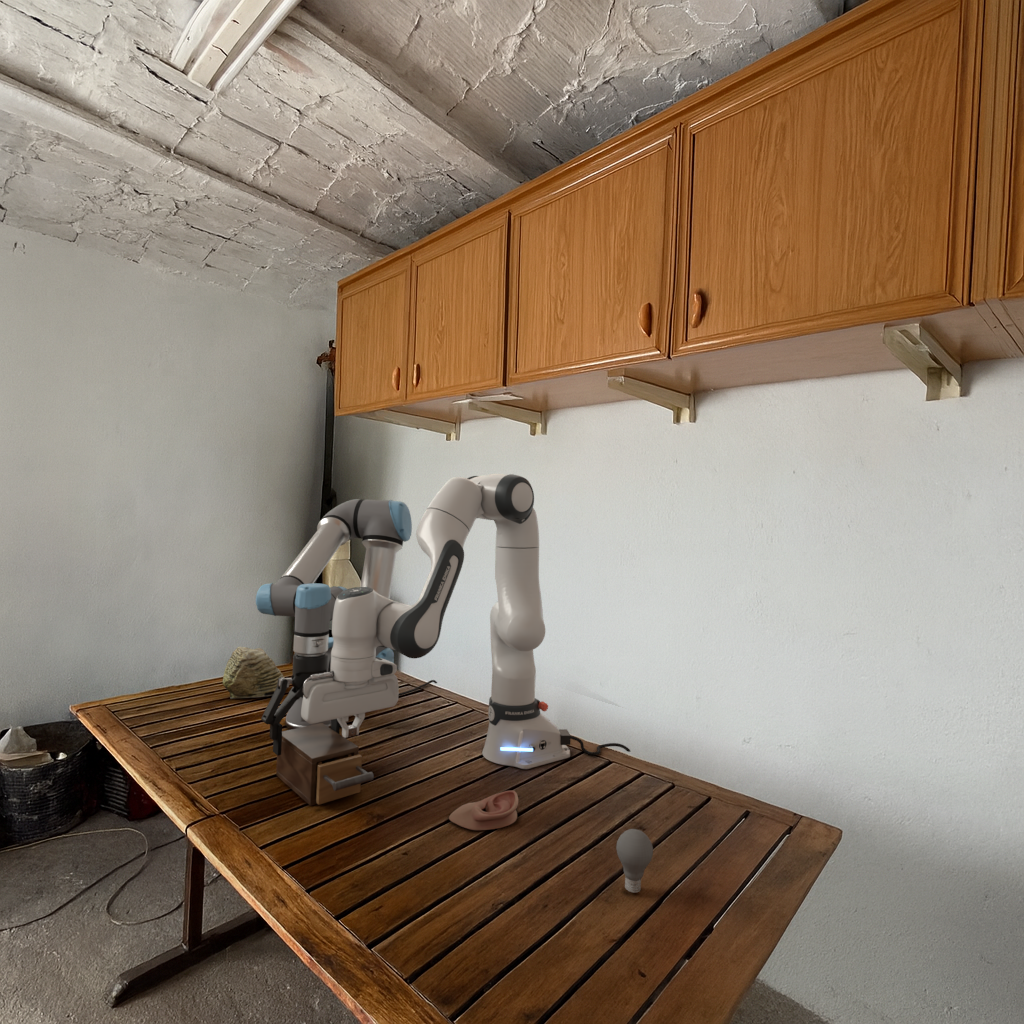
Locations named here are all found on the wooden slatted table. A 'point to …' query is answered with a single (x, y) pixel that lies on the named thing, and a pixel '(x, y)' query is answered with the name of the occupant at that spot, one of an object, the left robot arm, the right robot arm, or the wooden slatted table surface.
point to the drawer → (339, 777)
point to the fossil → (250, 674)
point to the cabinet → (309, 756)
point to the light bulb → (634, 857)
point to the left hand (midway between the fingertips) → (306, 746)
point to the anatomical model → (487, 812)
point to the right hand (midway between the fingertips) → (350, 735)
